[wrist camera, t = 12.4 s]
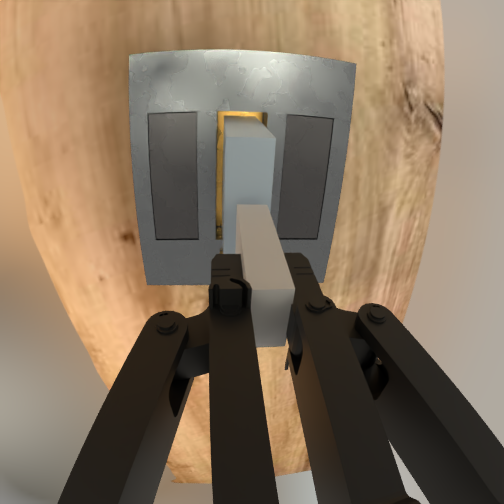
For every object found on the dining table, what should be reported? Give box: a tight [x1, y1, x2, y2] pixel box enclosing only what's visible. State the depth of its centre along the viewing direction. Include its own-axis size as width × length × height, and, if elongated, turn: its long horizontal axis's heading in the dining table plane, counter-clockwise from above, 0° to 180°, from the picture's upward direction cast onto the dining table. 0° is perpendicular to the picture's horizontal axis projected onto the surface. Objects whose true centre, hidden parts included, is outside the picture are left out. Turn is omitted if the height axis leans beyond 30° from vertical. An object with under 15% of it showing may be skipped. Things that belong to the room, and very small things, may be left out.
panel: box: [222, 115, 276, 254], centre depth 21 cm, size 9×2×10 cm, turn 177°
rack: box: [129, 49, 356, 285], centre depth 25 cm, size 20×18×4 cm
